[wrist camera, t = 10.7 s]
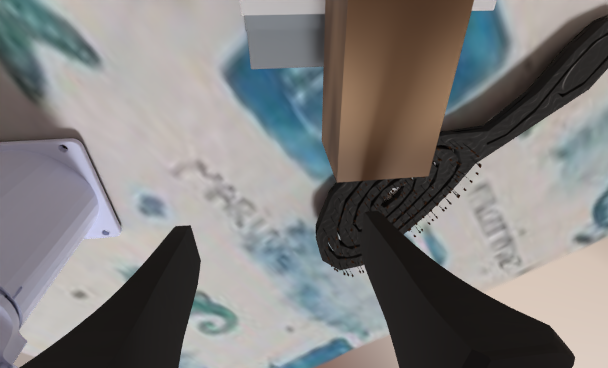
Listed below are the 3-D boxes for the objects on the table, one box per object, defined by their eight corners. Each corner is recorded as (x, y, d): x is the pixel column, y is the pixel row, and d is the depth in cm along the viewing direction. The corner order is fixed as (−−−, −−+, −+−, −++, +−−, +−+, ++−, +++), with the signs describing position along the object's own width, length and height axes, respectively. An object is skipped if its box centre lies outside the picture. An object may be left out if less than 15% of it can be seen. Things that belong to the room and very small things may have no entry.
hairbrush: (678, 77, 19) (362, 295, 25) (617, 66, 22) (350, 263, 28) (662, -48, 15) (293, 248, 21) (591, -41, 18) (288, 216, 25)
